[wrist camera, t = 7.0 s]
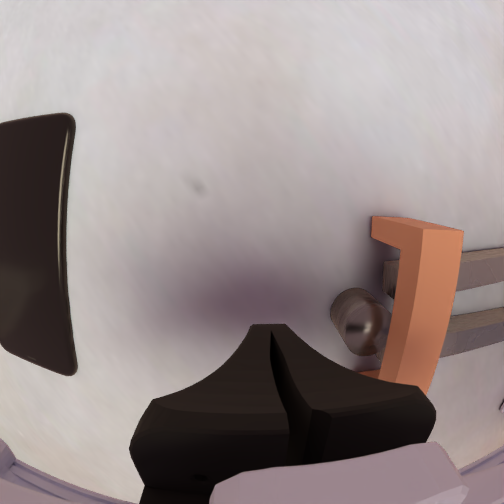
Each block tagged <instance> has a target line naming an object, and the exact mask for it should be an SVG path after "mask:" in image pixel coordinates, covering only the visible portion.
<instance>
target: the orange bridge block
mask: <svg viewBox="0 0 504 504" xmlns="http://www.w3.org/2000/svg"><path fill="white" fill-rule="evenodd" d="M463 234H464V231H462V230H458V229H454V228H450V227H445V226H441V225H437V224H433V223H428V222H424V221H419V220H415V219H410V218H400V217H379V216H372V231H371V237H372V238H374V239H377V240H379V241H381V242H384V243H386V244H388V245H391V246H393V247H395V248H398V249H400V250H401V251H400V261H399V270H398V278H397V286H396V293H395V299H394V306H393V312H392V317H391V323H390V328H389V333H388V338H387V343H386V348H385V352H384V357H383V361H382V365H381V369H379V370H372V371H364V372H357V373H360V374H362V375H366V376H369V377H372V378H376V379H380V380H384V381H388V382H393V383H400V384H408V385H416V386H418V387H419V388H420V389H421V390H422V391H423V393H424V394H425V395H426V394H427V391H428V389H429V386H430V383H431V381H432V378H433V375H434V372H435V369H436V366H437V363H438V359H439V356H440V353H441V350H442V346H443V343H444V339H445V335H446V331H447V328H448V324H449V319H450V315H451V311H452V306H453V301H454V296H455V291H456V286H457V280H458V274H459V267H460V260H461V253H462V244H463Z"/></svg>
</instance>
